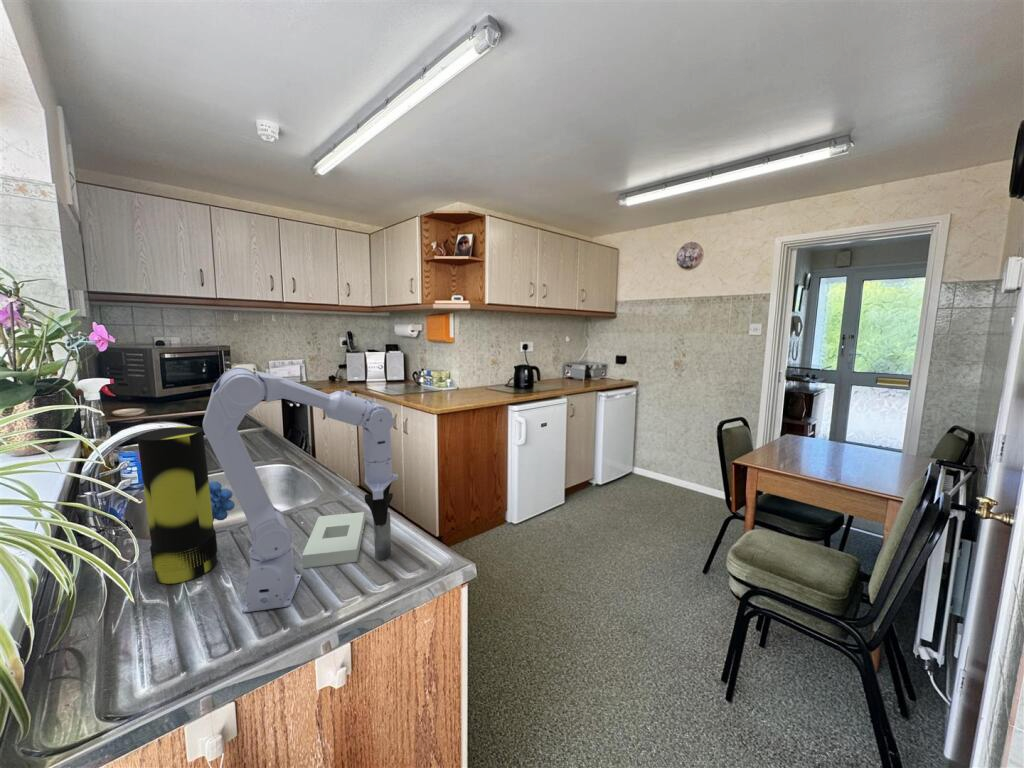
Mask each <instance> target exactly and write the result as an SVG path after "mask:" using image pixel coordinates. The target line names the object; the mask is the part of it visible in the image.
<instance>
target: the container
mask: <svg viewBox="0 0 1024 768" xmlns="http://www.w3.org/2000/svg"><path fill="white" fill-rule="evenodd" d="M204 435H205V433H204V430H203V427H201V426H194V425H186V426H183V425H181V426H171V427H165V428H163V427H162V428H159V429H153V430H149V431H146V432H142V433H141V434H139V435H137V437H136V440H137V447H138V448H137V449H138V455H139V461H140V469H141V475H142V476H141V477H142V483H143V484H142V485H143V493H144V499H145V506H146V514H147V522H148V529H149V538H150V544H151V545H150V547H149V548H150V549H149V550H150V556H151V563H152V570H154V573H155V574H154V575H155V579H156V581H157V582H159V583H162V584H170V585H171V584H173V585H174V584H179V583H185V582H188V581H192V580H194V579H197V578H198V577H202V576H203V575H205V574H206V573H208V572H209V571H211V570H212V569H213V568H214V567H215V566H216V564H217V562H218V557H217V556H218V555H217V554H218V553H217V552H218V543H217V532H216V529H215V528H214V521H213V517H212V508H211V499H210V490H209V483H210V482H209V473H208V472H209V470H208V465H207V455H206V446H205V436H204Z"/></svg>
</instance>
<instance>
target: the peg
mask: <svg viewBox="0 0 1024 768" xmlns="http://www.w3.org/2000/svg"><path fill="white" fill-rule="evenodd" d="M372 519H373V518H372ZM391 527H392V525H391V513H390V512H389V511H388V513H387V521H386V524H385V525H378V526H376V525H375V523H374V519H373V540H374V541H373V542H374V544H373V545H374V559H375V561H380V562H383V561H382V560H384V561H387V560H389V559H390V558H391V557H392V556H391V555H392V529H391ZM388 558H389V559H388ZM386 559H387V560H386Z"/></svg>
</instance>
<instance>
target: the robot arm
mask: <svg viewBox="0 0 1024 768" xmlns="http://www.w3.org/2000/svg"><path fill="white" fill-rule="evenodd" d="M256 374H257V375H258V376H257V375H256ZM281 399H284V400H288V401H291V402H296V403H300V404H303V405H306V406H310V407H313V408H318V409H321V410H323V411H324V413H325V415H326V417H327V418H328V419H332V420H335V421H337V422H341V423H345V424H349V425H351V426H355V427H362V437H363V438H362V443H363V458H364V459H363V461H364V475H365V476H364V484H365V486H367V487H368V488H369V490H371V492H372V493H369V494H367V493H365V494H364V502H365V504H366V505H367V506H368V508H369V510H370V512H371V516H372V519H374V522H373V524H374V523H375V525H376V526H378V525H385V524H386V521H387V513H388V512H389V506H390V505H391V501H392V499H393V497H394V496H393V495H394V494H393V493H392V492H391V493H390V489H391V486H392V484H393V481H397V480H399V474H398V473H393V458H392V457H393V456H392V437H391V429H392V428H393V426H394V423H395V418H394V417H393V414H392V411H390V409H389V408H388V407H385V406H383V405H382V404H380V403H378V402H375V400H373V399H371V398H367V399H365V398H361V397H358V396H355V395H353V393H352V392H351V391H350V390H346V389H344V390H343V391H342V390H341V391H340V390H336V391H334V392H332V393H326V392H323V391H320V390H317V389H314V388H312V387H310V386H307V385H304V384H302V383H298V382H296V381H293V380H290V379H288V378H285V377H282V376H279V375H275V374H272V373H267V372H263V371H258V370H256V371H255V373H254V372H253V371H252V370H250V369H248V368H247V367H246V368H245V367H233V368H230V369H228V370H226V371H224V372H223V374H221V375H220V377H219V378H218V379H217V380H216V382H215V383H214V384H213V385H212V389H211V392H210V397H209V401H208V403H207V407H206V409H205V413H204V416H203V420H202V428H203V434H204V435H205V437H206V439H207V441H208V442H209V444H210V446H211V447H210V448H211V449H212V450H213V453H214V455H215V457H216V459H217V461H218V463H219V465H220V467H221V470H223V471H222V472H223V473H224V476H225V477H226V479H227V482H228V483H229V485H230V487H231V489H232V491H233V493H234V496H235V498H236V500H237V502H238V504H239V506H240V507H241V510H242V511H243V514H244V516H245V518H246V521H247V524H248V527H247V528H248V532H249V533H250V537H251V541H252V545H251V547H250V549H249V550H248V551H249V552H248V554H249V556H248V557H249V566H250V567H249V571H248V572H247V574H246V577H245V582H244V586H245V596H246V597H245V598H246V601H245V603H244V604H243V607H242V609H241V612H242V613H250V612H255V611H256V612H257V611H263V610H264V611H265V610H271V609H272V610H273V609H280V608H286V607H289V606H290V605H291V603H292V601H293V598H294V596H295V595H296V591H297V589H298V587H299V584H300V581H301V579H302V574H301V573H297V574H295V563H294V551H293V549H294V548H293V534H292V532H291V530H290V529H289V528H288V525H287V522H286V517H285V515H284V513H283V511H281V510H279V509H278V508H276V507H275V506H274V505H273V502H272V501H271V499H270V496H269V494H268V491H267V490H266V488H265V486H264V484H263V482H262V480H261V477H260V476H259V475H260V474H259V473H258V471H257V469H256V466H255V464H254V462H253V460H252V458H251V456H250V453H249V452H248V450H247V448H246V445H245V443H244V441H243V439H242V436H241V434H240V432H239V430H238V427H239V426H240V424H241V422H243V420H244V418H245V416H246V414H248V413H249V412H250V411H252V410H253V409H254V408H256V407H257V406H258V405H259V404H260V403H261V402H262V401H263V400H264V401H265V402H266V403H271V402H274V401H277V400H281Z"/></svg>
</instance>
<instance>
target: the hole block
mask: <svg viewBox="0 0 1024 768" xmlns="http://www.w3.org/2000/svg"><path fill="white" fill-rule="evenodd" d="M365 514H366V513H365V511H361V512H360V511H359V512H352V513H350V512H349V513H339V514H330V515H329V514H327V515H320V516H318V518H317V520H316V522H315V524H314V527H313V529H312V531H311V533H310V535H309V538H308V540H307V543H306V546H305V548H304V549H303V552H302V554H301V563H302V569H308V568H317V567H324V566H325V567H327V566H332V565H334V566H335V565H342V564H350V563H356V562H357V563H358V560H359V555H360V549H361V544H362V539H363V535H362V534H364V530H363V529H365V525H364V524H365V523H366V520H365V519H366V517H365Z"/></svg>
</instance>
